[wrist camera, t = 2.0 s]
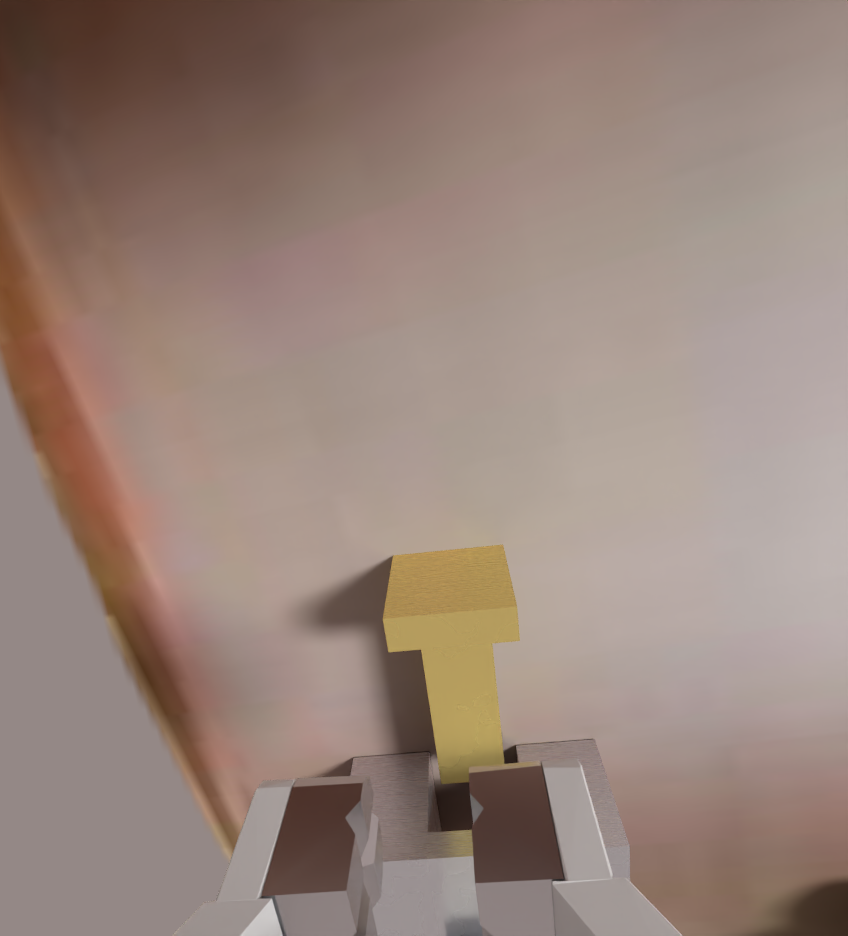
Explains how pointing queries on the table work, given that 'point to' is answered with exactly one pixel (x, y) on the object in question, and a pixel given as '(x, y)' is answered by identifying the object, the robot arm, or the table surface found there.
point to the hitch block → (455, 840)
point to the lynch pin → (455, 645)
